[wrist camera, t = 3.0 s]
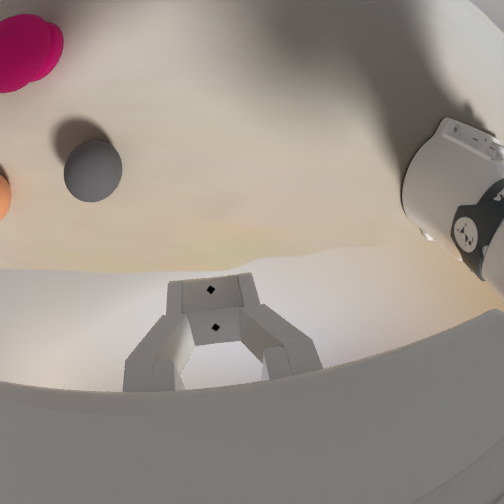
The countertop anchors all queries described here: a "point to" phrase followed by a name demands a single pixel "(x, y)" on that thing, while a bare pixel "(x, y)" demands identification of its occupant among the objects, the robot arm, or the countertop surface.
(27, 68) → the pepper mill
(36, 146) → the countertop surface
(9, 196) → the object ball
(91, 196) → the dark grey ball
